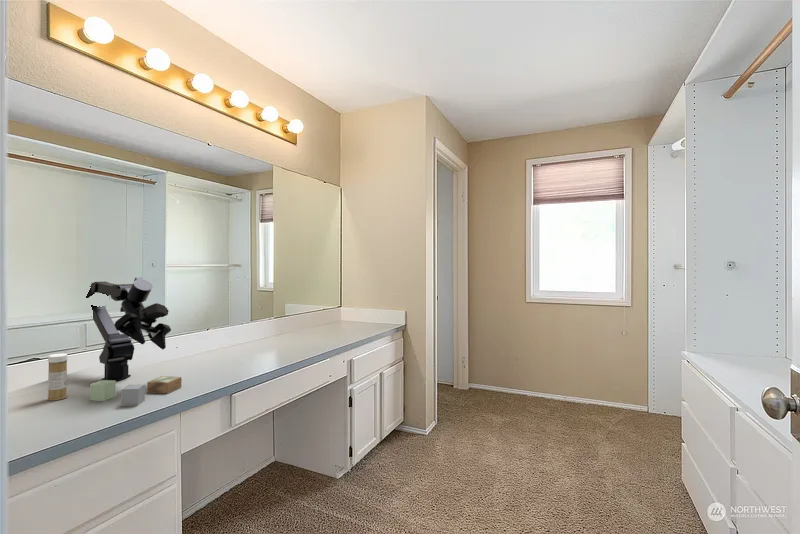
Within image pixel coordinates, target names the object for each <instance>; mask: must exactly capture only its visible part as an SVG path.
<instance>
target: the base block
mask: <svg viewBox="0 0 800 534" xmlns="http://www.w3.org/2000/svg"><path fill="white" fill-rule="evenodd" d="M146 385H147V387H146V389H147V390H146V393H148V394H149V393H150V394H165V393H168V394H170V393H172V392H174V391H176V390H178V389H181V388H182V376H165V375H164V376H163V375H161V376H159V377H156V378H155V379H151V380H149V381H147V383H146Z"/></svg>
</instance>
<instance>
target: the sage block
mask: <svg viewBox="0 0 800 534" xmlns="http://www.w3.org/2000/svg"><path fill="white" fill-rule="evenodd" d="M116 387H117V381H115V380H101V379H100V380H99V381H96V382H93V383H92V382H91V384H89V393H90V394H89V401H90V400H94V401H93V402H105V400H106V401H108V400H110V398H111V399H113V398H115V397H116V396H117V394H116V393H117V391H116V390H117V388H116ZM112 397H113V398H112ZM107 399H108V400H107Z"/></svg>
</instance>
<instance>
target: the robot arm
mask: <svg viewBox="0 0 800 534" xmlns="http://www.w3.org/2000/svg"><path fill="white" fill-rule="evenodd" d="M90 285H91V286H90ZM90 285H89V287H91V288H90V290H89V292H88V294H87V296H86V298H89V297H90V296H92V295H93V294H95V293H102V294H106V295H107V296H109V297H110V299H111V300H113V301H115V302H121V301H122V302H121V304H120V306H121V307H120V313H123V312H124V315H122V316H121V317H120V318H118V319H116V321H115V323H114V320H112V319H113V318H111V316H110V314H109V312H108V310H107V308H106V306H107V305H106V306H102V307H100V306H99V307H97V306H93V305H91V307H92V310H93V318H92V320H93V322H94V324H95V325H96V327H97V329H98V332H99V333H100V334H101V337H102V338H103V340H104V345H103V347H102V351H101V353H100V355H99V357H98V360H99V363H100V364H102V365H104V377H103V378H100V381H101V380H115V381H116V382H119V381H121V380H124V379H126V378H129V377H131V376H132V375H131V374H129V363H128V361H132V360H133V357H134V353H135V345H134V344H133V342H132V340H134V341H136V342H137V343H138V344H139V343H140V344H141V345H144V344H145V343H146V340H145V337H144V334H143V333H147V336H148V339H149V341H151V342H152V343H153V344H154V345H156V346H157V347H159V348H160V349H161V350H165V349H166V347H167V346H166V345H167V344H166V336H167V335H168V334H169V333H170V332H171V331H172V329H171V327H170V325H168V324H164V323H163V322H162V323H160V322H159V323H158V324H156V325H155V326H153V324H155V323H156V322H157V319H159V318H164V317H166V316H168V315H169V312H170V311H169V309H168V307H166V306H165V305H163V304H161V303H157V302H156V303H153V304H151V305H148V306H146V307H145V305H144V304H143V303H144V302H146V301H147V299H148V297H149V295H150V293H151V291H152V289H153V288H154V287H153V283H151V282H150V281H149V280H146V279H143V277H134V279H133V283H127V284H126V283H124V284H123V283H122V284H121V283H120V284H117V283H111V282H109V281H94V282H91V283H90Z"/></svg>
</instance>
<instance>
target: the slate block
mask: <svg viewBox="0 0 800 534" xmlns="http://www.w3.org/2000/svg"><path fill="white" fill-rule="evenodd" d="M120 394H121V395H120V397H121V399H120V400H121V401H120V404H121V405H120V407H134V405H135V406H136V405H137V406H139V404H140V405H141V404H142V403H144V402H145V400H146V384H145V383H143V384H141V383H140V384H128V385H126V386H124V387H123V388H121V390H120Z"/></svg>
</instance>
